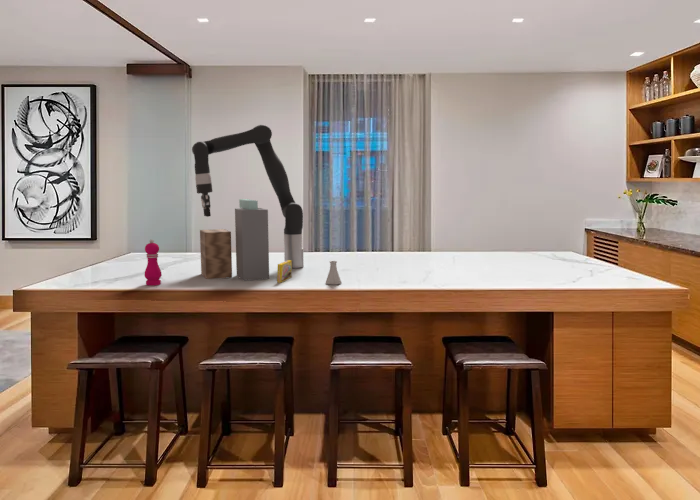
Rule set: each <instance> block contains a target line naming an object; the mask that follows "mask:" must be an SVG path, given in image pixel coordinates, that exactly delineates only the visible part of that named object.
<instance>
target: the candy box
mask: <svg viewBox="0 0 700 500" xmlns="http://www.w3.org/2000/svg"><path fill="white" fill-rule="evenodd" d="M291 267H292V261H291V260H287V261H283V262H281V263H278V264H277V272H276V273H277V283H279V284H280V283H283V282H286V281H287V280H289V279H290V278H291V279H292V268H291Z"/></svg>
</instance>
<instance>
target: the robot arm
mask: <svg viewBox="0 0 700 500" xmlns="http://www.w3.org/2000/svg"><path fill="white" fill-rule="evenodd" d="M272 136H273V131H272V129H271V128H270V127H269V126H268V125H266V124H258V125H255V126H254V127H253V128H251V129H249V130H246V131H241V132H239V133H233V134H227V135H224V136H219V137H214V138H212V139H208V140H204V141H197V142H195V143H194V144H193V145H192V147H191V152H192V154H193V156H194V157H193V158H194V172H195V175H194V176H195V177H194V178H195V179H194V180H195V186H196V187H195V188H196V193H197V194H201V196H200V201H201V206H202V207H201V208H203V216H204V217H207V218H208V217H211V215H212V214H211V196H210V194H209V193H213V185H212V183H213V182H212V177H211V169H210V165H209V155H213V154H216V153H217V154H218V153H221V152H222V153H223V152H227V151H229V150H230V151H231V150H233V149H236V148H238V147H242V146H247V145H250V144H251V145H252V144H254V145H255V147H256V149H257V151H258V153H259V155H260V157H261V160H262V164H263V167H264V169H265V172H266V175H267V177H268V180H269V182H270V183H271V187H272V189H273V191H274V193H275V195H276V196H277V199H278V203H279V206H280V210H281V212H282V213H281V214H282V215H283V217H284V229H283V241H284V242H283V244H284V245H283V246H284V247H283V249H284V250H283V251H284V253H283V254H284V255H283V257H284V260H283V262H285V261H287V260H291V261H292V267H291V269H296V268H297V269H299V268H303V267H304V264H305V263H304V248H303V227H304V212H303V208H302V206H301V205H300V204H298V203H296V201H295V199H294V197H293V194H292V192H291V188H290V183H289V177H288V174H287V171H286V169H285V166H284V164H283V162H282V160H280V157H278V154H277V153H276V152H275V150H274V148H273V145H272V142H271V138H272Z"/></svg>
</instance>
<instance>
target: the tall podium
mask: <svg viewBox="0 0 700 500" xmlns="http://www.w3.org/2000/svg"><path fill="white" fill-rule="evenodd" d="M234 220H235V221H234V224H235V225H234V226H235V231H234V232H235V258H236V259H235V260H236V262H235V264H236V265H235V268H236V269H235V270H236V276H237V277H238V278H239V277H240V278H239V279H241V280H242V281H243V280H244V281H258V279H260V280H270V255H269V254H270V253H269V252H270V250H269V249H270V248H269V210H268V209H267V208H262V207H258V209H257V210H248V209H244V208H240V207H239V208H237V207H236V208H234Z"/></svg>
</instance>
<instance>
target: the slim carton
mask: <svg viewBox="0 0 700 500" xmlns="http://www.w3.org/2000/svg"><path fill="white" fill-rule="evenodd" d="M238 201H239V202H238V203H239V205H238V207H239V208H244V209H248V210H257V209H258V208H259V207H258V206H259V205H258V204H259V203H258V200H256V199H249V198H240V199H238Z"/></svg>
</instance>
